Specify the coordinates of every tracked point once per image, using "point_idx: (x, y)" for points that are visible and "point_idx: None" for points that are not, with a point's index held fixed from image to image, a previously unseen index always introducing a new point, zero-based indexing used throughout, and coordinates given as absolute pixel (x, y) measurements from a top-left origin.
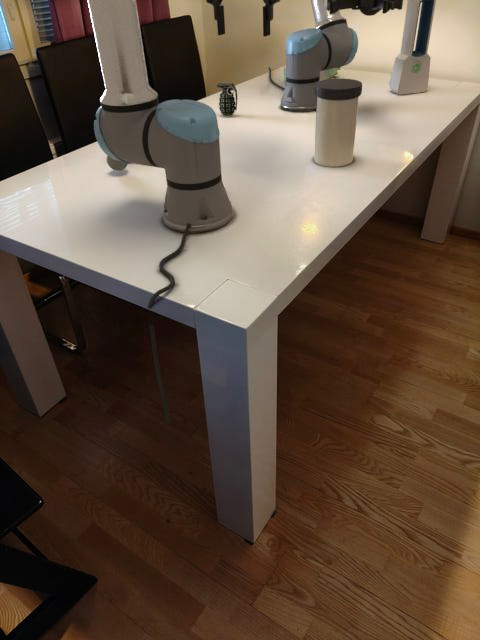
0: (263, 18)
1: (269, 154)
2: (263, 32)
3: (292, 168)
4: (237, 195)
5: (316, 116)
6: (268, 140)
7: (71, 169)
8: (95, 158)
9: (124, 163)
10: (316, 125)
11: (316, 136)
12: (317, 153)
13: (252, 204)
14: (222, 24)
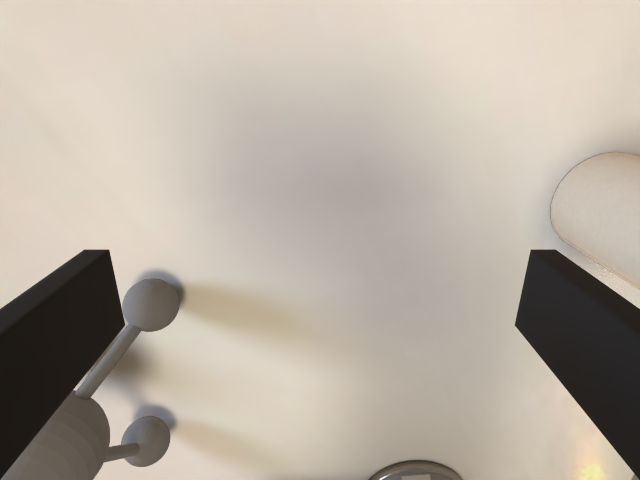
0: (598, 422)
1: (423, 222)
2: (530, 340)
3: (508, 285)
4: (440, 425)
5: (634, 277)
6: (375, 113)
7: None
8: None
9: (169, 441)
10: (616, 269)
11: (598, 259)
12: (577, 249)
13: (480, 443)
14: (73, 326)
